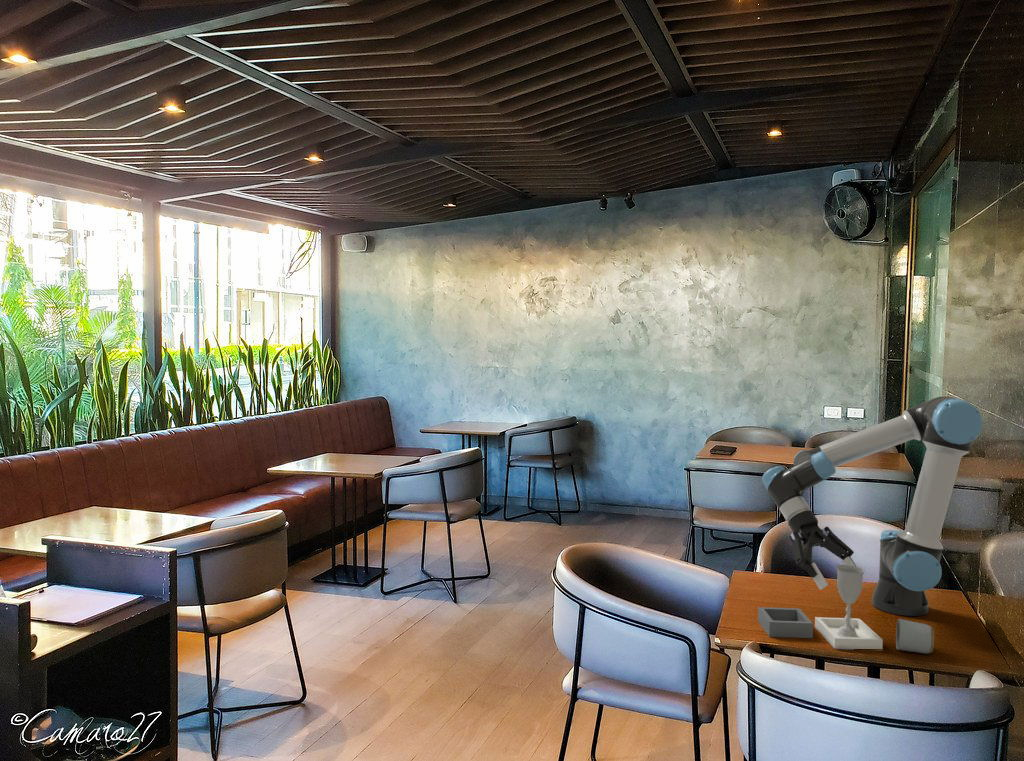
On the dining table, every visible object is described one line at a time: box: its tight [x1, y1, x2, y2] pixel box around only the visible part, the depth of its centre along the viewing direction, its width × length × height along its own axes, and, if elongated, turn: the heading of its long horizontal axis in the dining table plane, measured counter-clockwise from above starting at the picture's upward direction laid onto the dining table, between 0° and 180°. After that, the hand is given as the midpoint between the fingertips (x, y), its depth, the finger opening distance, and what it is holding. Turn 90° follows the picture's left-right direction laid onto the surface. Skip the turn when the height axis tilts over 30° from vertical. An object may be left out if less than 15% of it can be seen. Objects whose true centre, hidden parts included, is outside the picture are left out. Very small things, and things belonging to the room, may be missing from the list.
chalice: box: [835, 564, 865, 637], centre depth 202 cm, size 7×7×18 cm
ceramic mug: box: [895, 618, 935, 654], centre depth 197 cm, size 11×8×8 cm
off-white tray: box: [814, 616, 884, 650], centre depth 203 cm, size 12×15×3 cm
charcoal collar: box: [757, 606, 814, 639], centre depth 209 cm, size 11×11×4 cm
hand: (841, 583), depth 204 cm, fingers open, 13 cm apart
